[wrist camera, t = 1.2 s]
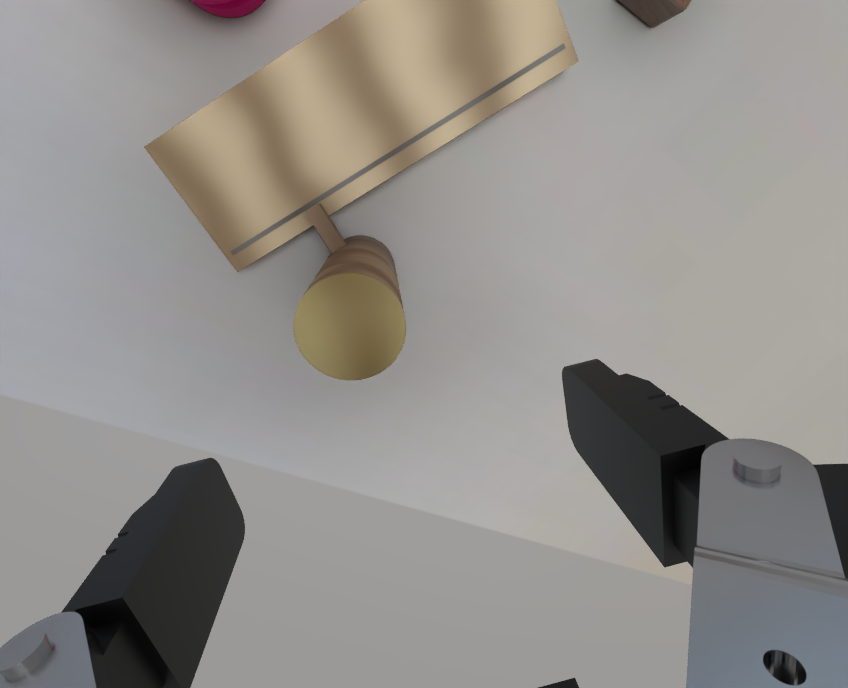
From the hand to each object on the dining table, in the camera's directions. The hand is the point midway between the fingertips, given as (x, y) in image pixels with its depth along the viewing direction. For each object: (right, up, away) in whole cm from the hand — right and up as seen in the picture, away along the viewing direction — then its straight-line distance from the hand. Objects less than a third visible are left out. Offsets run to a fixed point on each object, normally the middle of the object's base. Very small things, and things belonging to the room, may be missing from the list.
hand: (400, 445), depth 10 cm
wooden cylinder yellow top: (-5, +9, +23) cm, 25 cm away
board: (-3, +18, +20) cm, 27 cm away
